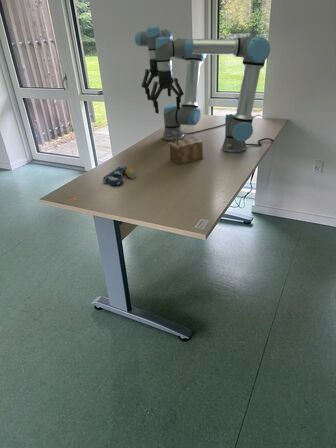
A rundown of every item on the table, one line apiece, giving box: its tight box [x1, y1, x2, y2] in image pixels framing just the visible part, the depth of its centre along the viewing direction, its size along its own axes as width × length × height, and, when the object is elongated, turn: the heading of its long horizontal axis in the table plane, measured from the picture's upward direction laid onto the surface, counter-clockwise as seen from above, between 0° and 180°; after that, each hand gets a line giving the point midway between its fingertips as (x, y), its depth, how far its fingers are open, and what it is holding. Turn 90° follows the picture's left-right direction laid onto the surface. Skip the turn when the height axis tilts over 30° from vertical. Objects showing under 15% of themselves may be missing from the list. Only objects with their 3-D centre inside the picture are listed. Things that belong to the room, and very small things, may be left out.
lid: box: [167, 131, 203, 149], centre depth 202 cm, size 18×11×9 cm, turn 117°
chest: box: [168, 142, 204, 166], centre depth 207 cm, size 17×11×10 cm
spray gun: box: [102, 165, 136, 187], centre depth 189 cm, size 21×4×15 cm
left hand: (159, 98), depth 199 cm, fingers open, 13 cm apart
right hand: (167, 111), depth 189 cm, fingers open, 13 cm apart
